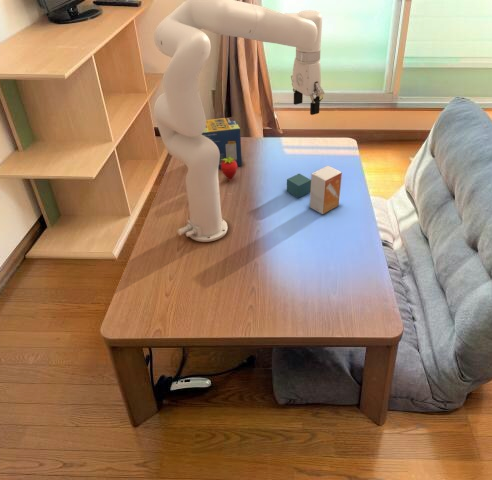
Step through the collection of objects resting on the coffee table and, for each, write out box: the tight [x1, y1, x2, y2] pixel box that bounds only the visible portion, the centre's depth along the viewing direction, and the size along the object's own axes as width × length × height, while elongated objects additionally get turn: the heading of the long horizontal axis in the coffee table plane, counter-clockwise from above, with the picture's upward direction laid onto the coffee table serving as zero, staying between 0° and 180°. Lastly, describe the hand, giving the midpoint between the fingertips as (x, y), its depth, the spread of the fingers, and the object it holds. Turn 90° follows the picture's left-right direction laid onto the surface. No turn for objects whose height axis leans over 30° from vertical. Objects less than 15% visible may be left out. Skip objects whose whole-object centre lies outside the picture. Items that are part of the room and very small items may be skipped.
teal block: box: [286, 173, 311, 199], centre depth 170 cm, size 6×6×5 cm
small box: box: [309, 165, 343, 215], centre depth 160 cm, size 8×6×13 cm
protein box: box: [202, 116, 243, 170], centre depth 183 cm, size 10×15×16 cm
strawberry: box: [221, 156, 238, 181], centre depth 174 cm, size 6×8×10 cm
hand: (306, 108), depth 160 cm, fingers open, 9 cm apart
